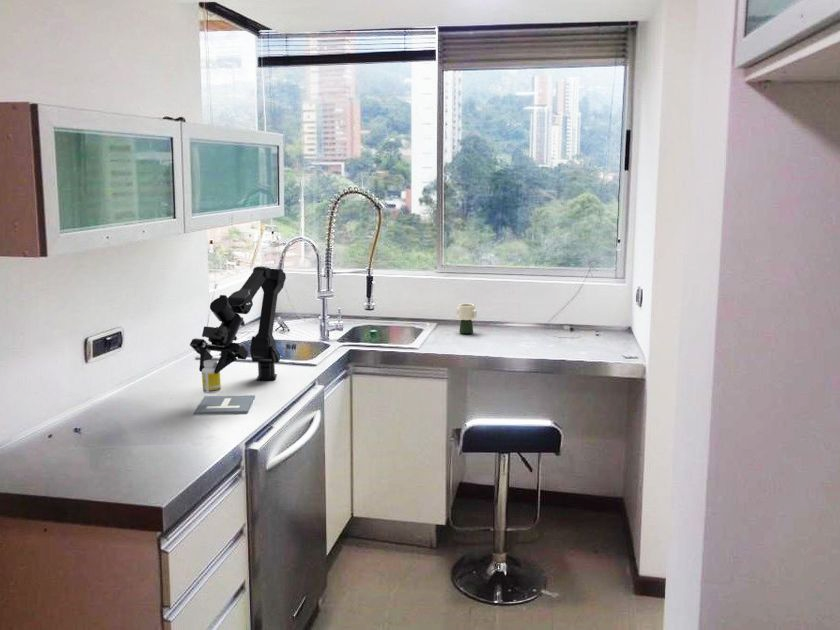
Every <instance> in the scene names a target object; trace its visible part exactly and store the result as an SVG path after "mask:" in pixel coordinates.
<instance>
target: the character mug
mask: <svg viewBox="0 0 840 630" xmlns="http://www.w3.org/2000/svg"><path fill="white" fill-rule="evenodd" d="M456 315H458V319H459V320H461V321H460V324H459V333H460V334H468V335H469V334H471V333H474V326H473V321H472V320H474V319H475V318H477V315H478V314H477V310H476V309H475V304H473V303H460V304H459V303H458V307H456Z"/></svg>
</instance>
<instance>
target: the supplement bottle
mask: <svg viewBox="0 0 840 630" xmlns="http://www.w3.org/2000/svg"><path fill="white" fill-rule="evenodd" d="M217 363H218V360H216V359H211V360H206V361H204V367H205V368H203V369H202V372H201V379H202V382H201V383H202V392H203V393H204V394H212V395H213V394H217V393H219V392H221V390H222V387H221V386H222V385H221V371H220V372H218V373H217V374H215V373H214V371H215V368H216V366H217Z"/></svg>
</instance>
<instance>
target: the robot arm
mask: <svg viewBox="0 0 840 630" xmlns="http://www.w3.org/2000/svg"><path fill="white" fill-rule="evenodd" d="M286 277H287V276H286V272H285V271H284V270H283V269H282V268H270V267H267V266H254V268H253V270H252V273H251V274H250V275H249V277H248V278H247V280H246V281H245V282H244V284H243V285H242V287H241V288H240V289H239V290H237V291H234V292H233V293H231V294H230V295H229V296H227V294H220V295H219V297H217V298H215V299H214V300H212V302H211V303H210V305H209V309H210V310H211V312H212V313H213V315H214V316H215V317H216V319H217V320H218V321H219V322H220V325H219V326H216V327H214V326H212V327H211V326H203V329H202V334H201V337H202V338H196V337H194V338H192V339H191V340H190V341H191V342H190V343H189V346H190V347H191V348H192V349H193V350H194V351H195V352H196V353H197V354H198V355H200V358H199V367H198V368H199V372H201V373H202V369H203V368H205V367H204V361H206V360H213V358H214V356H213V355H212V354H211V351H212V352H213V351H214V352H220V357H219V359H218V360H217V366H216V368H215V371H214V373H215V374H217V373H218V372H220V373H221V371H222V370H223V369H225V368H226V367H228V366H229V365H230V364H232V363H234V362H236V361H237V360H244V361H245V360H246V359H247V358H248V356H249V353H250V357H251V362H252V363H257V373H258V374H257V377H256V378H255V380H256V381H276V378H277V377H278V374H277V373H276V369H275V365H276V364H277V363H279V362H280V361H281V353H280V352H279V350H278V349H277V348H276V346H277V345H276V340H275V338H274V335H273V333H274V332H273V331H274V324H275V316H276V309H277V303H278V295H279V293H280V292H281V290H282V289H284V285H285V282H286V279H287V278H286ZM260 289H262V291H263V296H262V302H261V308H260V309H261V310H260V316H259V322H258V323H259V325H258V329H257V330H258V332H257V334H256V335H254V336H252V337H251V343H250V347H249V353H248V350H247V348H246V347H245V346H244V345H243V344H242V343H241V342H240V343H239V342H235V341H238V337H237V334H238V331H239V329H240V327H245V320H244V317H242V316H241V315H247V314H248V313H250V311H251V309H252V307H253V306H254V304H253V303H254V302H253V299H254V297H255V295H256V294H257V292H258V291H259V290H260ZM204 338H207V340H208V342H210V343H208V342H207V341H206V340H205V339H204ZM275 363H276V364H275Z"/></svg>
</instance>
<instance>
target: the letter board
mask: <svg viewBox="0 0 840 630" xmlns="http://www.w3.org/2000/svg"><path fill="white" fill-rule="evenodd" d="M254 398H255V399H256V395H255V394H254V395H252V394H251V395H247V394H246V395H245V394H244V395H213V396H212V395H211V396H210V395H207V396H206V395H205V396H204V397H203V398H202V399H201V400H200V402H199V404H198V405H197V407H196V408H195V410H194V411H193V415H224V414H225V415H227V414H228V415H229V414H235V415H236V414H237V415H238V414H248V413H249V411H250V409H251V407H252V405H253V403H254V401H255V399H254ZM253 400H254V401H253Z"/></svg>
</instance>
